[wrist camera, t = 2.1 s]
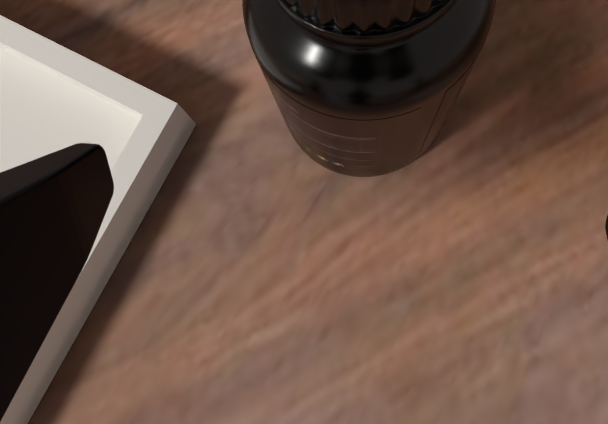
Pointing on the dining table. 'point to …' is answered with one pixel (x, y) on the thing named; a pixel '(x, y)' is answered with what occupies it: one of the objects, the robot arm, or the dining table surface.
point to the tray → (71, 130)
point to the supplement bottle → (366, 73)
